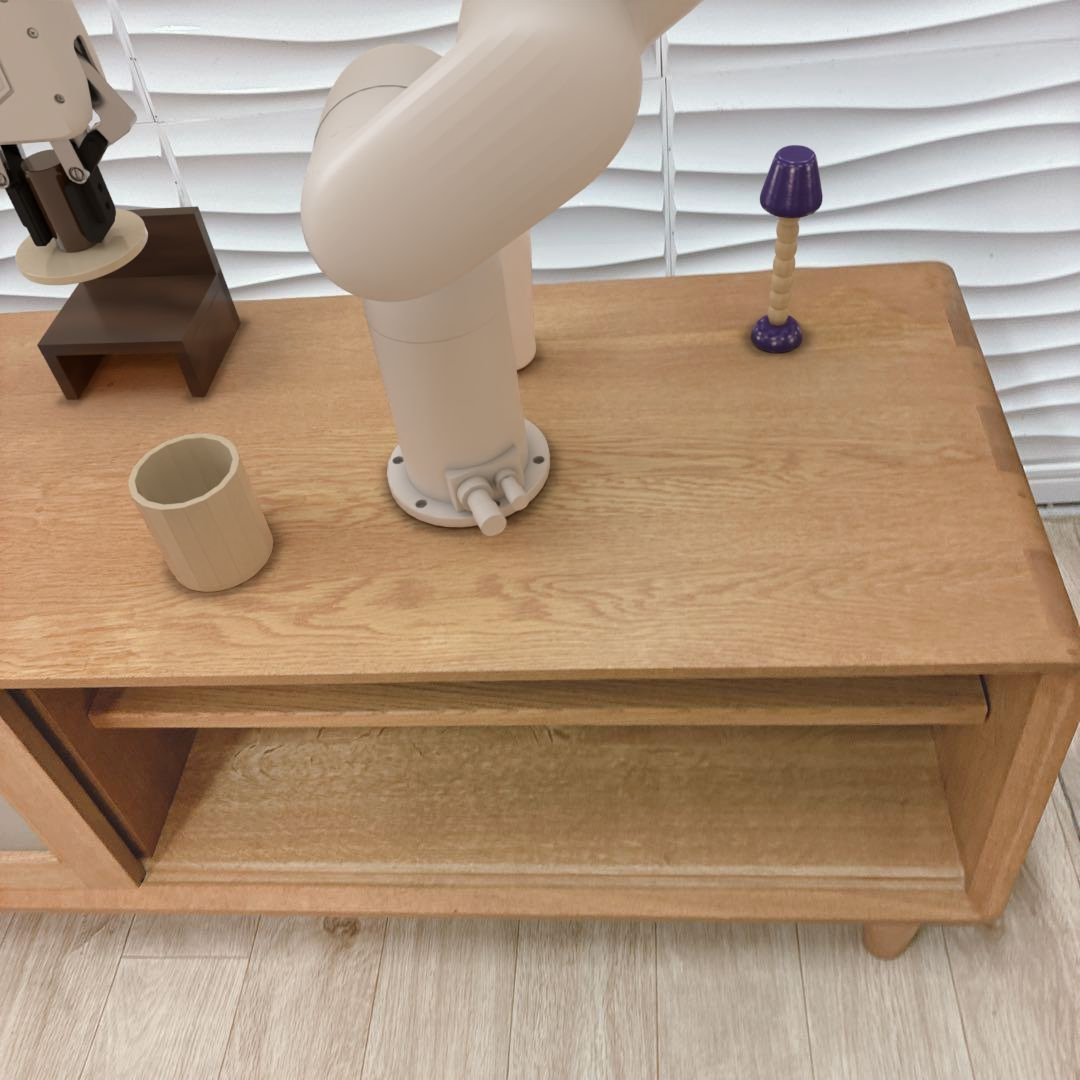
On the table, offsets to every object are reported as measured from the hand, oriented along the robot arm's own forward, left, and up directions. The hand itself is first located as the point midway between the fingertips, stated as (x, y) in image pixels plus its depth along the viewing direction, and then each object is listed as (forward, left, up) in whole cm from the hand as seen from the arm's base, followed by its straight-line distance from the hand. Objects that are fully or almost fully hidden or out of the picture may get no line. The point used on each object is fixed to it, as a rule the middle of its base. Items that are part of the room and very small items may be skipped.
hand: (76, 231), depth 68 cm
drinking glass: (+4, -28, -23) cm, 37 cm away
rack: (+20, 0, -23) cm, 31 cm away
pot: (-7, 0, -23) cm, 24 cm away
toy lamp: (-6, -49, -23) cm, 55 cm away
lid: (0, 0, -1) cm, 1 cm away
